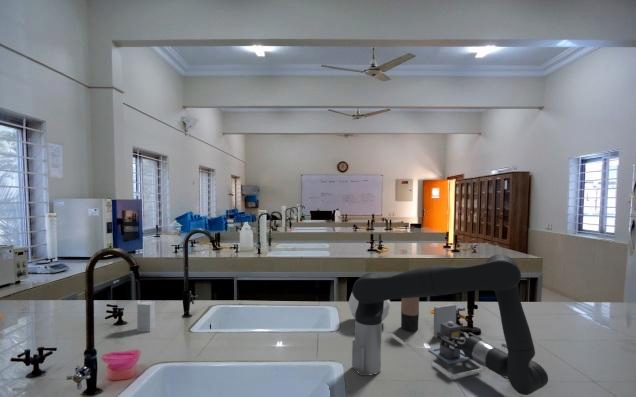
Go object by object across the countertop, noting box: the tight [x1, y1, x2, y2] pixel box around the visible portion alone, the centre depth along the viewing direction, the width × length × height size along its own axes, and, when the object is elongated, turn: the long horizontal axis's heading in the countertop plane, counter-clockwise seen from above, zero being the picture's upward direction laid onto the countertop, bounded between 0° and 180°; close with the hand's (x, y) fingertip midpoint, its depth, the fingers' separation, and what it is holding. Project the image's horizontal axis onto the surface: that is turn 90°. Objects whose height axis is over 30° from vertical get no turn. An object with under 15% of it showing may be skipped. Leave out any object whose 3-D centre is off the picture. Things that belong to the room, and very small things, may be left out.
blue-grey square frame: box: [427, 346, 471, 365], centre depth 128 cm, size 11×11×2 cm
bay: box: [433, 303, 457, 339], centre depth 141 cm, size 11×9×14 cm
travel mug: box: [400, 297, 420, 333], centre depth 151 cm, size 8×8×20 cm
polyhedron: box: [347, 292, 391, 322], centre depth 161 cm, size 19×20×20 cm
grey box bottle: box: [439, 321, 462, 360], centre depth 128 cm, size 5×5×13 cm
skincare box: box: [136, 300, 156, 333], centre depth 149 cm, size 6×4×12 cm
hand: (446, 333), depth 129 cm, fingers open, 8 cm apart
